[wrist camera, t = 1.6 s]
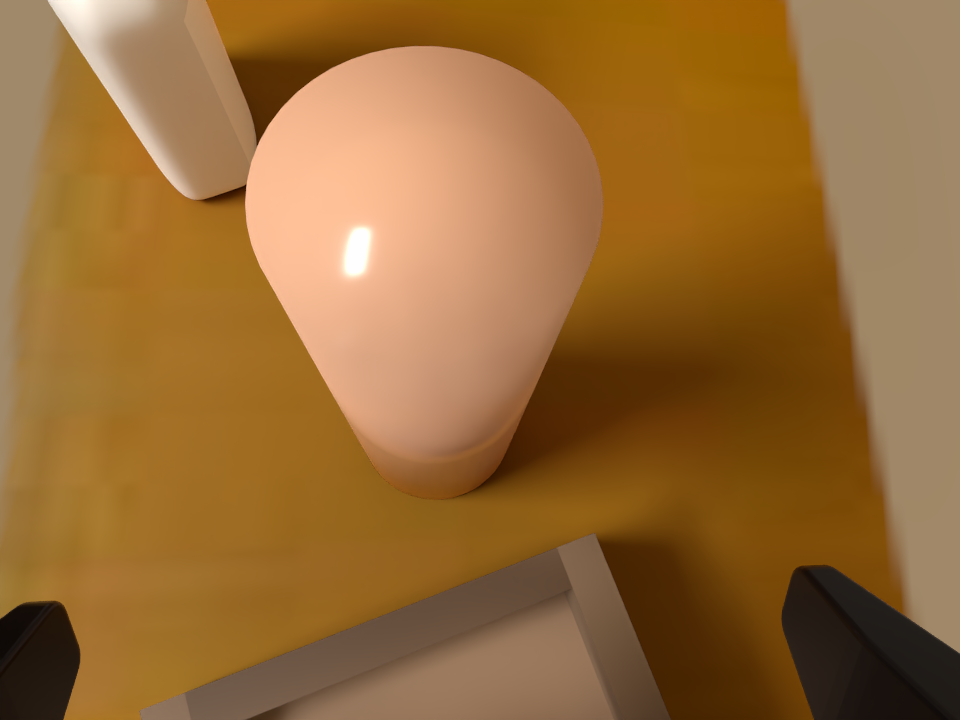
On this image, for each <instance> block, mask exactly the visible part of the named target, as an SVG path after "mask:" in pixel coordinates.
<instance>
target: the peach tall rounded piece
mask: <svg viewBox="0 0 960 720" xmlns="http://www.w3.org/2000/svg"><path fill="white" fill-rule="evenodd" d="M245 207H246V220H247V227H248V231H249V236H250V240H251V244H252V247H253V250H254V252H255V255H256V257H257V260H258V262H259V265H260V267H261V269H262V270H263V272H264V274H265V276H266V277H267V279H268V281H269V283H270V284H271V286H272V288H273V290H274V292H275V293H276V295H277V297H278V299H279V300H280V302H281V304H282V306H283V308H284V309H285V311H286V313H287V315H288V316H289V318H290V320H291V322H292V323H293V325H294V327H295V329H296V331H297V332H298V334H299V336H300V338H301V339H302V341H303V343H304V345H305V347H306V348H307V350H308V352H309V354H310V355H311V357H312V359H313V361H314V362H315V364H316V366H317V368H318V370H319V371H320V373H321V375H322V377H323V378H324V380H325V382H326V384H327V386H328V387H329V389H330V391H331V393H332V394H333V396H334V398H335V400H336V401H337V403H338V405H339V407H340V409H341V410H342V412H343V414H344V416H345V417H346V419H347V421H348V423H349V425H350V426H351V428H352V430H353V432H354V433H355V435H356V437H357V439H358V440H359V442H360V444H361V446H362V448H363V449H364V451H365V453H366V455H367V456H368V458H369V460H370V462H371V463H372V465H373V467H374V468H375V469H376V471H377V472H378V473H379V475H380V476H381V477H382V478H383V479H384V480H385V481H386V482H388V483H389V484H390V485H392V486H393V487H394V488H396V489H398V490H400V491H402V492H403V493H406V494H409V495H411V496H414V497H418V498H422V499H432V500H437V499H448V498H454V497H457V496H460V495H463V494H465V493H468V492H470V491H472V490H474V489H475V488H477V487H478V486H480V485H481V484H483V483H484V482H485V481H486V480H487V479H488V478H489V477H490V476H491V475H492V474H493V473H494V472H495V471H496V469H497V468H498V466H499V465H500V464H501V462H502V460H503V458H504V456H505V454H506V452H507V449H508V447H509V445H510V443H511V440H512V438H513V436H514V434H515V431H516V429H517V427H518V425H519V423H520V420H521V418H522V416H523V414H524V411H525V409H526V407H527V405H528V402H529V400H530V398H531V396H532V393H533V391H534V389H535V387H536V384H537V382H538V380H539V378H540V375H541V373H542V371H543V369H544V366H545V364H546V362H547V360H548V357H549V355H550V353H551V351H552V348H553V346H554V344H555V342H556V339H557V337H558V335H559V333H560V330H561V328H562V326H563V324H564V321H565V319H566V317H567V315H568V312H569V310H570V308H571V306H572V303H573V301H574V299H575V297H576V295H577V292H578V290H579V288H580V286H581V283H582V281H583V279H584V277H585V274H586V272H587V270H588V268H589V265H590V263H591V260H592V258H593V255H594V252H595V249H596V247H597V244H598V240H599V235H600V230H601V225H602V215H603V194H602V183H601V178H600V174H599V170H598V166H597V162H596V159H595V157H594V154H593V152H592V149H591V147H590V144H589V142H588V140H587V138H586V137H585V135H584V133H583V131H582V130H581V128H580V126H579V124H578V123H577V122H576V120H575V119H574V118H573V117H572V115H571V114H570V113H569V111H568V110H567V109H566V108H565V107H564V106H563V105H562V103H561V102H560V101H559V100H558V99H557V98H556V97H555V96H554V95H553V94H552V93H550V92H549V91H548V90H547V89H545V88H544V87H543V86H542V85H540V84H539V83H538V82H537V81H535V80H534V79H532V78H530V77H529V76H527V75H526V74H524V73H522V72H521V71H519V70H518V69H515V68H513V67H511V66H509V65H507V64H505V63H503V62H501V61H499V60H496V59H493V58H490V57H487V56H484V55H481V54H478V53H474V52H469V51H465V50H461V49H455V48H446V47H438V46H410V47H400V48H391V49H387V50H382V51H377V52H373V53H369V54H366V55H363V56H360V57H357V58H354V59H351V60H349V61H346V62H344V63H342V64H340V65H338V66H336V67H333V68H331V69H330V70H328V71H326V72H325V73H323V74H321V75H320V76H318V77H317V78H315V79H313V80H312V81H311V82H309V83H308V84H307V85H306V86H304V87H303V88H302V89H301V90H299V91H298V92H297V93H296V94H295V95H294V96H293V97H292V98H291V99H290V100H289V101H288V102H287V103H286V104H285V105H284V106H283V107H282V108H281V109H280V111H279V112H278V113H277V115H276V116H275V117H274V119H273V120H272V121H271V123H270V124H269V125H268V127H267V129H266V131H265V133H264V134H263V136H262V138H261V140H260V142H259V144H258V146H257V149H256V151H255V154H254V157H253V159H252V162H251V166H250V170H249V175H248V179H247V186H246V199H245Z"/></svg>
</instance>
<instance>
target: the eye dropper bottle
mask: <svg viewBox="0 0 960 720" xmlns="http://www.w3.org/2000/svg"><path fill="white" fill-rule="evenodd" d="M48 2H49V4H50V5H51V7H52V8H53V10H54V11H55V13H56V14H57V16H58V17H59V19H60V20H61V22H62V23H63V25H64V26H65V28H66V29H67V31H68V32H69V34H70V35H71V37H72V39H73V40H74V42H75V43H76V45H77V46H78V48H79V49H80V51H81V52H82V54H83V55H84V57H85V58H86V60H87V61H88V63H89V64H90V66H91V67H92V69H93V70H94V72H95V73H96V75H97V76H98V78H99V79H100V81H101V82H102V84H103V85H104V87H105V88H106V90H107V91H108V93H109V94H110V96H111V97H112V99H113V100H114V102H115V103H116V105H117V106H118V108H119V109H120V111H121V112H122V114H123V115H124V117H125V118H126V120H127V121H128V123H129V124H130V126H131V127H132V129H133V130H134V132H135V133H136V135H137V136H138V137H139V139H140V140H141V142H142V143H143V145H144V146H145V148H146V149H147V151H148V152H149V154H150V155H151V157H152V158H153V160H154V161H155V163H156V164H157V166H158V167H159V169H160V170H161V171H162V173H163V174H164V175H165V177H166V178H167V179H168V180H169V181H170V182H171V184H172V185H173V186H174V187H175V188H176V189H177V190H178V191H179V192H181V193H182V194H183V195H184V196H186V197H187V198H190V199H192V200H202V199H206V198H210V197H213V196H216V195H219V194H222V193H225V192H228V191H231V190H234V189H237V188H239V187H242V186H244V185H246V184H247V179H248V175H249V170H250V166H251V162H252V159H253V157H254V154H255V151H256V149H257V143H256V134H255V128H254V123H253V120H252V116H251V113H250V110H249V107H248V105H247V102H246V100H245V97H244V95H243V92H242V90H241V87H240V85H239V82H238V80H237V77H236V75H235V72H234V70H233V67H232V65H231V62H230V60H229V57H228V55H227V52H226V50H225V47H224V45H223V42H222V40H221V37H220V35H219V32H218V30H217V27H216V25H215V22H214V20H213V17H212V15H211V12H210V10H209V7H208V5H207V2H206V0H48Z"/></svg>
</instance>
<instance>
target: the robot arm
mask: <svg viewBox="0 0 960 720" xmlns="http://www.w3.org/2000/svg"><path fill="white" fill-rule="evenodd" d="M782 626H783V631H784V634H785V637H786V640H787V643H788V646H789V649H790V652H791V654H792V657H793V660H794V663H795V666H796V669H797V672H798V675H799V678H800V680H801V683H802V686H803V689H804V692H805V695H806V698H807V701H808V703H809V706H810V709H811V712H812V715H813V718H814V720H960V653H958V652H957V651H955V650H954V649H952V648H951V647H950V646H948V645H947V644H945V643H944V642H942V641H940V640H939V639H938V638H936V637H935V636H933V635H932V634H930V633H929V632H928V631H926V630H925V629H923V628H922V627H920V626H919V625H917V624H916V623H914V622H913V621H911V620H910V619H908V618H907V617H906V616H904V615H903V614H901V613H900V612H898V611H897V610H895V609H894V608H892V607H891V606H889V605H888V604H886V603H885V602H883V601H882V600H881V599H879V598H878V597H876V596H875V595H873V594H872V593H870V592H869V591H867V590H866V589H864V588H863V587H861V586H860V585H859V584H857V583H856V582H854V581H853V580H851V579H850V578H848V577H847V576H845V575H844V574H842V573H841V572H839V571H838V570H836V569H835V568H833V567H831V566H828V565H810V566H800V567H797V568H796V569H795V570H794V571H793V574H792V577H791V580H790V584H789V588H788V591H787V595H786V599H785V602H784V606H783V610H782ZM79 665H80V648H79V644H78V642H77V639H76V636H75V633H74V631H73V628H72V625H71V622H70V620H69V617H68V614H67V611H66V609H65V607H64V605H63V604H61V603H60V602H58V601H38V602H26V603H23V604H21V605H19V606H17V607H16V608H14V609H13V610H12V611H10V612H9V613H8V614H6V615H5V616H4V617H2V618H1V619H0V720H63V719H64V716H65V712H66V709H67V706H68V702H69V699H70V696H71V693H72V689H73V686H74V683H75V679H76V676H77V673H78V669H79Z"/></svg>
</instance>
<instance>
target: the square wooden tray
mask: <svg viewBox="0 0 960 720" xmlns="http://www.w3.org/2000/svg"><path fill="white" fill-rule="evenodd" d="M140 716H141V720H671V718H670V716H669V713H668V711H667V708H666V706H665V704H664V701H663V699H662V696H661V694H660V691H659V689H658V686H657V684H656V682H655V679H654V677H653V674H652V672H651V669H650V667H649V664H648V662H647V660H646V657H645V655H644V652H643V650H642V647H641V645H640V642H639V640H638V638H637V635H636V633H635V630H634V628H633V625H632V623H631V620H630V618H629V616H628V613H627V611H626V608H625V606H624V603H623V601H622V598H621V596H620V594H619V591H618V589H617V586H616V584H615V581H614V579H613V576H612V574H611V572H610V569H609V567H608V564H607V562H606V559H605V557H604V554H603V552H602V550H601V547H600V545H599V542H598V540H597V537H596V535H595V533H593V534H590V535H588V536H585V537H583V538H580V539H578V540H575V541H572V542H570V543H567V544H565V545H562V546H560V547H557V548H555V549H552V550H549V551H547V552H544V553H542V554H539V555H537V556H534V557H531V558H529V559H526V560H524V561H521V562H519V563H516V564H514V565H511V566H508V567H506V568H503V569H501V570H498V571H496V572H493V573H491V574H488V575H485V576H483V577H480V578H478V579H475V580H473V581H470V582H467V583H465V584H462V585H460V586H457V587H455V588H452V589H450V590H447V591H444V592H442V593H439V594H437V595H434V596H432V597H429V598H427V599H424V600H421V601H419V602H416V603H414V604H411V605H409V606H406V607H403V608H401V609H398V610H396V611H393V612H391V613H388V614H386V615H383V616H380V617H378V618H375V619H373V620H370V621H368V622H365V623H363V624H360V625H357V626H355V627H352V628H350V629H347V630H345V631H342V632H340V633H337V634H334V635H332V636H329V637H327V638H324V639H322V640H319V641H316V642H314V643H311V644H309V645H306V646H304V647H301V648H299V649H296V650H293V651H291V652H288V653H286V654H283V655H281V656H278V657H276V658H273V659H270V660H268V661H265V662H263V663H260V664H258V665H255V666H252V667H250V668H247V669H245V670H242V671H240V672H237V673H235V674H232V675H229V676H227V677H224V678H222V679H219V680H217V681H214V682H212V683H209V684H206V685H204V686H201V687H199V688H196V689H194V690H191V691H188V692H186V693H183V694H181V695H178V696H176V697H173V698H171V699H168V700H165V701H163V702H160V703H158V704H155V705H153V706H150V707H148V708H145V709H142V710H140Z"/></svg>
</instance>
